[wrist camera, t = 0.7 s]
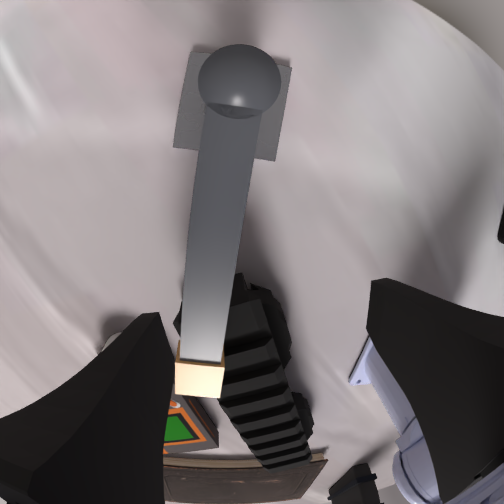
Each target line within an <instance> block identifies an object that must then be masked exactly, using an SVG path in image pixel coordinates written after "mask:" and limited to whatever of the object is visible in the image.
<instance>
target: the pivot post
mask: <svg viewBox="0 0 504 504" xmlns="http://www.w3.org/2000/svg"><path fill="white" fill-rule="evenodd" d="M210 55H211V53H201V52H191V53H190V57H189V61H188V66H187V70H186V75H185V80H184V85H183V90H182V95H181V100H180V106H179V112H178V117H177V123H176V130H175V136H174V143H173V147H174V148H184V149H193V150H199V147H200V141H201V135H202V129H203V123H204V117H205V112H206V106H205V104H204V102H203V100H202V98H201V95H200V92H199V89H198V75H199V71H200V69H201V67H202V65H203V63H204V61H205V60H206V59H207V58H208V57H209V56H210ZM277 66H278V68H279V71H280V75H281V89H280V93H279V95H278V98H277V99H276V101H275V102H274V104H273V105H272V106H271V107H270V108H269V109H268V110H266V111H265V112H264V113H262V117H261V122H260V128H259V133H258V139H257V145H256V150H255V156H254V158H257V159H263V160H269V161H274V162H275V159H276V153H277V148H278V142H279V137H280V131H281V126H282V120H283V115H284V109H285V104H286V98H287V93H288V87H289V82H290V76H291V71H292V67H287V66H283V65H278V64H277Z"/></svg>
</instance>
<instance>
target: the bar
mask: <svg viewBox="0 0 504 504" xmlns="http://www.w3.org/2000/svg"><path fill="white" fill-rule="evenodd" d="M198 89H199V92H200V95H201V98H202V100H203V102H204V104H205V106H206V112H205V117H204V123H203V129H202V135H201V141H200V147H199V154H198V161H197V168H196V175H195V182H194V189H193V197H192V205H191V214H190V223H189V232H188V242H187V252H186V263H185V275H184V288H183V302H182V319H181V339H180V340H179V342H178V348H177V355H176V361H175V394H181V395H190V396H200V397H212V398H220V394H221V387H222V381H223V375H224V369H225V363H224V338H225V332H226V325H227V319H228V312H229V306H230V300H231V293H232V287H233V281H234V275H235V268H236V262H237V256H238V250H239V244H240V238H241V232H242V226H243V220H244V214H245V208H246V202H247V196H248V190H249V185H250V179H251V173H252V167H253V162H254V156H255V150H256V145H257V139H258V133H259V128H260V122H261V117H262V113H264V112H265V111H266V110H268V109H269V108H270V107H271V106H272V105H273V104H274V102H275V101H276V99H277V98H278V95H279V93H280V89H281V75H280V71H279V68H278V66H277V64H276V63H275V61H274V60H273V59H272V58H271V57H270V56H269V55H268V54H267V53H265V52H264V51H262V50H260V49H258V48H256V47H253V46H249V45H242V44H237V45H230V46H226V47H223V48H221V49H219V50H217V51H215V52H214V53H212V54H211V55H210V56H209V57H208V58H207V59H206V60H205V61H204V63H203V65H202V67H201V69H200V71H199V75H198Z"/></svg>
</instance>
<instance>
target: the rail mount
mask: <svg viewBox="0 0 504 504" xmlns="http://www.w3.org/2000/svg"><path fill="white" fill-rule="evenodd" d="M250 284H251V287H252V290H248V289H247V286H246V283H245V280H244V277H243V274H242V272H241V273H238V274H235V275H234V281H233V287H232V293H231V300H230V306H229V312H228V319H227V325H226V332H225V338H224V363H225V369H224V375H223V381H222V387H221V394H220V398H217V400H218V401H219V404H220V406H221V408H222V409H223V411H224V412H225V413H226V414H227V416H228V417H229V419H230V421H231V423H232V424H233V426H234V427H235V429H237V431H238V432H239V434H240V436H241V438H242V439H243V441H244V442H246V444H247V445H248V448H249V449H250V450H251V452H252V453H253V454H254V455H255V456H256V459H257V460H258V461H259V462H260V463H261V465H262V467H263V468H264V469H265V470H266V471H268V472H269V473H271V474H272V473H276V472H281V471H285V470H289V469H293V468H297V467H300V466H304V465H308V464H309V463H310V462H311V460H312V458H313V457H312V454H311V451H310V448H309V445H308V442H307V440H308V439H309V437H310V436H311V435H312V434H313V431H312V427H313V425H314V421H313V418H312V414H311V411H310V408H309V405H308V402H307V400H306V399H305V398H303V397H302V394H301V393H295V392H291V391H290V388H289V385H288V382H287V379H286V376H285V373H284V368H285V367H286V365H287V364H288V362H289V360H290V359H291V355H290V351H289V350H290V346H291V343H292V342H291V338H290V334H289V331H288V327H287V324H286V320H285V317H284V314H283V311H282V308H281V305H280V303H279V302H278V301H277V300H276V299H275V298H274V297H273V295H272V292H271V291H270V290H268V289H265V288H262V287H260V286H257V285H254V284H252V283H250ZM182 302H183V301H182ZM182 302H181V307H180V311H179V313H178V315H177V316H176V318H175V320H174V322H173V324H174V326H175V328H176V330H177V332H178V334H179V336H180V338H181V319H182Z"/></svg>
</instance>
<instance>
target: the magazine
mask: <svg viewBox="0 0 504 504" xmlns="http://www.w3.org/2000/svg"><path fill="white" fill-rule="evenodd" d="M375 479H377V476H376V473H374V474H372V473H371V471H370V468H369V465H368V464H362V465H358V466H353V467H352V468H351V469H350V470H349V471H348V472H347V473H346V474H345V475H344V476H343V477H342V478H341V479H340V480H339V481H338V482H337V483H336V484H335V485H334V486H333V487H332V488H331V489H329V494H330V496H329V497H328V500H331V501H332V504H384V503H380V499H379V495H378V490H377V487H376V484H375V481H374V480H375Z"/></svg>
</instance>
